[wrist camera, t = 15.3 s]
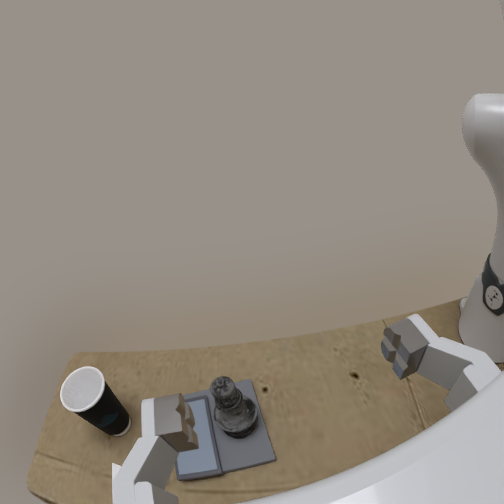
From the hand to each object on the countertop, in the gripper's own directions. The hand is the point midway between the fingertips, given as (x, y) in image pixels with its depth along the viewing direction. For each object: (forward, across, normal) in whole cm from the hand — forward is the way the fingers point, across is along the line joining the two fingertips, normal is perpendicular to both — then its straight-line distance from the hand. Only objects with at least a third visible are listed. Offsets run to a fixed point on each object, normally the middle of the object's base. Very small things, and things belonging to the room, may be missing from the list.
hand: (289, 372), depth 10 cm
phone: (+12, +12, +29) cm, 34 cm away
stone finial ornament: (+13, +5, +29) cm, 32 cm away
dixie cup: (+17, +25, +30) cm, 43 cm away
